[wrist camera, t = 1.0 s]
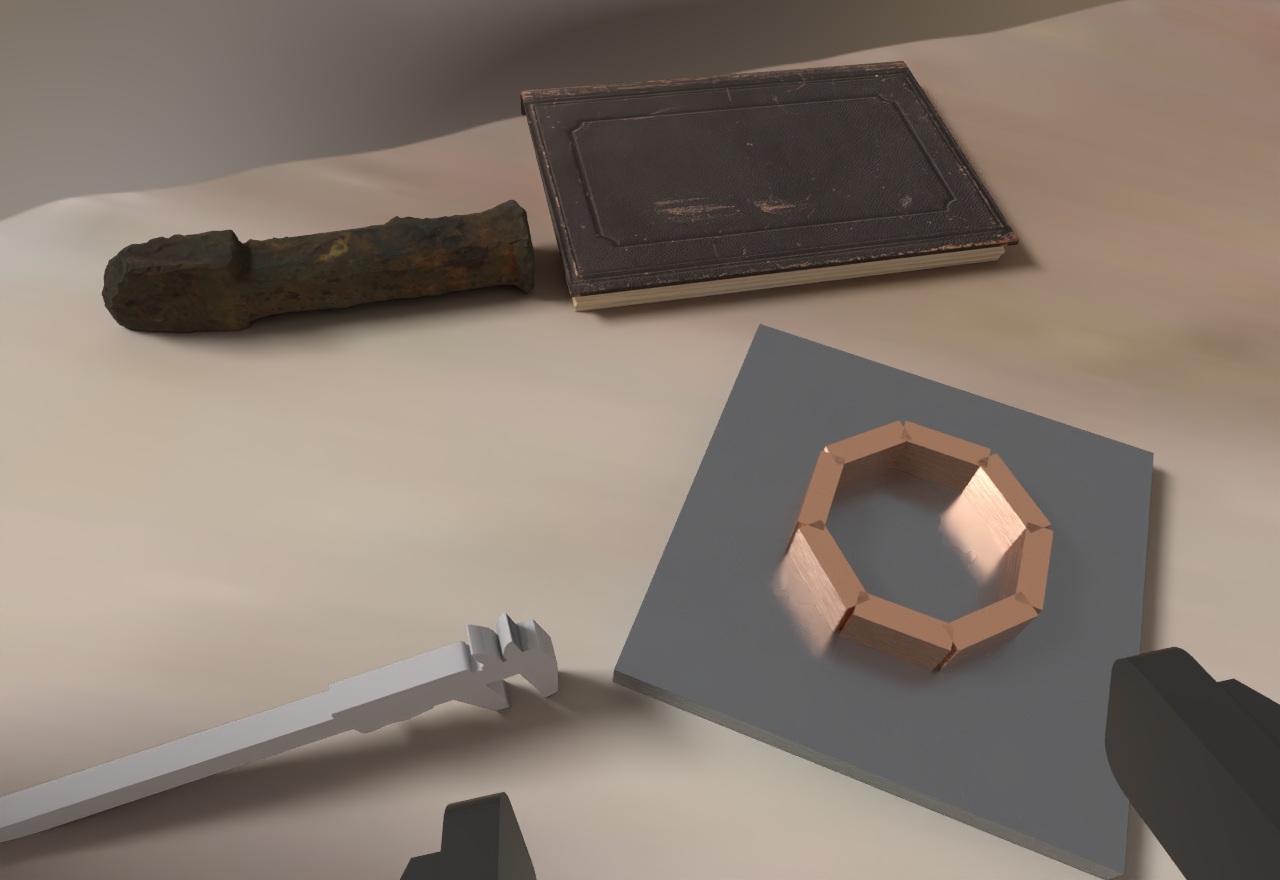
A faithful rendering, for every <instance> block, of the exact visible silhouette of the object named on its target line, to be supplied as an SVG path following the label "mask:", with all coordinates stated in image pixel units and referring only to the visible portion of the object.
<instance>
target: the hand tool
mask: <svg viewBox="0 0 1280 880" xmlns="http://www.w3.org/2000/svg"><path fill="white" fill-rule="evenodd" d="M533 260H534V253H533V246H532V241H531V236H530V230H529V225H528V221H527V213H526V211H525V209H523V208H522V207H520V206H519V205H518V203H517V202H516V201H515V200H509V201H507V202H505V203H502V204H500V205H498V206H496V207H494V208H493V209H489V210H486V211H484V212H481V213H474V214H468V215H454V216H450V217H447V216H444V217H440V218H432V219H430V218H425V219H419V218H412V217H405V218H399V217H398V216H396V217H394V218H393V219H391V220H390V221H389V222H387V223H386V224H384V225H374V226H369V227H364V228H357V229H349V230H342V231H334V232H327V233H318V234H313V235H304V236H297V237H289V238H288V237H284V238H279V239H278V238H273V239H268V240H263V241H259V240H252V239H250V240H249V241H247V242H246V243H241V242H240V241H239V240H238V238H237V236H236V235H235V233H234V232H233V231H232V230H224V231H210V232H205V233H201V234H194V235H186V236H183V235H173V236H172V237H170V238H164V237H159V238H155V239H151V240H149V241H148V242H147V243H142V244H131V245H129V246H127V247H125V248H124V249H122V250H121V251H120V252H119V253H118V255H116V256H115V257H113V258H112V259H111V260H109V262H108V265H107V268H106V269H105V274H104V288H103V291H102V296H103V299H104V302H105V306H106V308H107V309H108V310H109V312H110V314H111V315H112V316H113V318H114V319H115V320H116V321H117V323H118V324H120V325H121V326H124V327H125V328H126V327H127V328H131V329H134V330H145V331H165V332H178V333H179V332H194V331H239V330H243V329H246V328H250V327H251V326H252V324H253V323H254V321H255V320H256V319H259V318H263V317H267V316H270V315H276V314H282V313H288V312H301V311H313V310H321V309H333V308H341V309H343V308H347V307H350V306H354V305H358V304H363V303H369V302H375V301H383V300H392V299H400V298H416V297H421V296H427V295H440V294H444V293H448V292H451V291H464V290H469V289H475V288H482V287H488V286H493V285H508V284H512V285H515V286H517V287H518V288H520V289H521V290H522V291H523V292H524V293H527V294H528V293H530V292H531V290H532V289H533V287H534V283H533V275H534V267H533Z"/></svg>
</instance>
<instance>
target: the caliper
mask: <svg viewBox="0 0 1280 880" xmlns="http://www.w3.org/2000/svg"><path fill="white" fill-rule="evenodd" d="M466 631H467V636H468V641H469V644H467V645H466V644H465V642H463V641H461V642H457V643H453V644H450V645H447V646H444V647H441V648H438V649H435V650H432V651H429V652H426V653H423V654H420V655H417V656H414V657H411V658H408V659H405V660H402V661H399V662H396V663H393V664H390V665H387V666H384V667H381V668H378V669H375V670H372V671H369V672H366V673H363V674H360V675H357V676H354V677H351V678H348V679H345V680H342V681H339V682H336V683H332V684H329V685H328V686H329V690H328V691H325V692H322V693H319V694H315V695H312V696H309V697H306V698H303V699H300V700H297V701H294V702H291V703H288V704H285V705H282V706H279V707H275V708H272V709H269V710H266V711H263V712H260V713H257V714H254V715H251V716H248V717H245V718H242V719H239V720H236V721H232V722H229V723H226V724H223V725H220V726H217V727H214V728H211V729H208V730H205V731H202V732H199V733H196V734H192V735H189V736H186V737H183V738H180V739H177V740H174V741H171V742H168V743H165V744H162V745H159V746H156V747H152V748H149V749H146V750H143V751H140V752H137V753H134V754H131V755H128V756H125V757H122V758H119V759H116V760H113V761H109V762H106V763H103V764H100V765H97V766H94V767H91V768H88V769H85V770H82V771H79V772H76V773H73V774H70V775H67V776H64V777H60V778H57V779H54V780H51V781H48V782H45V783H42V784H39V785H36V786H33V787H30V788H27V789H24V790H21V791H18V792H15V793H12V794H9V795H6V796H2V797H0V843H1V842H5V841H9V840H13V839H16V838H20V837H24V836H28V835H31V834H35V833H38V832H41V831H44V830H47V829H50V828H53V827H56V826H59V825H62V824H65V823H69V822H72V821H75V820H78V819H81V818H84V817H87V816H90V815H93V814H96V813H99V812H102V811H105V810H108V809H111V808H114V807H117V806H120V805H123V804H126V803H129V802H132V801H135V800H138V799H141V798H144V797H147V796H150V795H153V794H156V793H159V792H162V791H165V790H168V789H171V788H174V787H177V786H180V785H183V784H186V783H189V782H192V781H195V780H198V779H201V778H205V777H208V776H211V775H214V774H217V773H220V772H223V771H226V770H229V769H232V768H235V767H238V766H241V765H244V764H247V763H250V762H253V761H256V760H259V759H263V758H266V757H269V756H272V755H275V754H278V753H281V752H284V751H287V750H290V749H293V748H296V747H299V746H302V745H305V744H308V743H311V742H314V741H317V740H321V739H324V738H327V737H330V736H333V735H336V734H339V733H342V732H345V731H348V730H351V729H355V730H357V731H359V732H361V733H368V732H372V731H374V730H377V729H379V728H381V727H384V726H386V725H388V724H391V723H395V722H399V721H404V720H407V719H410V718H412V717H415V716H417V715H419V714H421V713H423V712H425V711H427V710H430V709H432V708H433V706H435V705H438V704H441V703H445V702H448V701H451V700H457V701H461V702H464V703H468V704H472V705H476V706H480V707H484V708H487V709H491V710H495V711H497V710H501V709H505V708H509V707H510V702H509V698H508V693H507V689H506V684H505V681H504V680H503V679H505V678H508V677H511V676H513V675H516V674H521V675H522V676H523V677H524V678H525V679H526V680H527V681H529V682H530V683H531V684H532V685H533V686H534V687H535V688H537V689H538V690H539V691H540V692H541V693H542V694H543V695H544V696H545V697H548V696H550V695H553V694H554V693H556V692H557V691H558V668H557V661H556V657H555V653H554V649H553V645H552V641H551V637H550V636H549V635H548V634H547V633H546V632H545V631H544V630H543V629H542V628H541V627H540V626H539V625H538V624H537V623H536V622H535V621H534V620H533V619H531V620H528V621H525V622H521V623H518V624H515V623H514V622H513V621H512V620H511V618H510V617H509V616H508V615H507V614H506V613H504V614H502V615H501V616H500V618H499V619H498V623H497V631H498V634H496V633H495V632H494V631H493V630H491V629H489V628H485V627H481V626H475V625H467V626H466Z"/></svg>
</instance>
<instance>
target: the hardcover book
mask: <svg viewBox="0 0 1280 880" xmlns="http://www.w3.org/2000/svg"><path fill="white" fill-rule="evenodd" d="M521 113H522V116H526V117H527V121H528V125H529V129H530V133H531V137H532V141H533V145H534V149H535V153H536V158H537V162H538V166H539V170H540V174H541V178H542V182H543V186H544V190H545V194H546V198H547V203H548V207H549V211H550V215H551V219H552V223H553V227H554V231H555V235H556V239H557V244H558V248H559V252H560V256H561V260H562V264H563V268H564V272H565V276H566V280H567V284H568V289H569V293H570V297H571V298H572V302H573V306H574V310H575V312H579V311H587V310H595V309H603V308H611V307H619V306H628V305H636V304H644V303H652V302H660V301H668V300H676V299H684V298H693V297H701V296H709V295H717V294H725V293H733V292H741V291H750V290H758V289H766V288H774V287H782V286H790V285H798V284H806V283H815V282H823V281H831V280H839V279H847V278H855V277H863V276H871V275H880V274H888V273H896V272H904V271H912V270H920V269H928V268H936V267H945V266H953V265H961V264H969V263H977V262H985V261H993V260H999V257H1000V256H1001V255H1002V254H1004V253H1005V249H1004V246H1009V245H1017V243H1018V241H1019V240H1018V239H1017V237H1016V236H1015V234H1014V232H1013V231H1012V229H1011V228H1010V226H1009V225H1008V223H1007V221H1006V220H1005V218H1004V217H1003V215H1002V214H1001V212H1000V211H999V209H998V207H997V206H996V204H995V203H994V201H993V200H992V198H991V196H990V195H989V193H988V192H987V190H986V189H985V187H984V186H983V184H982V182H981V181H980V179H979V178H978V176H977V175H976V173H975V171H974V170H973V168H972V167H971V165H970V164H969V162H968V161H967V159H966V157H965V156H964V154H963V153H962V151H961V150H960V148H959V146H958V145H957V143H956V142H955V140H954V139H953V137H952V136H951V134H950V132H949V131H948V129H947V128H946V126H945V125H944V123H943V121H942V120H941V118H940V117H939V115H938V114H937V112H936V111H935V109H934V107H933V106H932V104H931V103H930V101H929V100H928V98H927V96H926V95H925V93H924V92H923V90H922V89H921V87H920V86H919V84H918V82H917V81H916V79H915V78H914V76H913V75H912V73H911V71H910V70H909V68H908V67H907V65H906V64H905V63H904V61H897V62H885V63H872V64H859V65H846V66H834V67H821V68H808V69H795V70H782V71H770V72H757V73H744V74H731V75H719V76H706V77H693V78H682V79H681V78H680V79H667V80H655V81H642V82H629V83H617V84H604V85H591V86H578V87H565V88H553V89H541V90H527V91H522V92H521Z"/></svg>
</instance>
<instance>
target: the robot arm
mask: <svg viewBox="0 0 1280 880" xmlns="http://www.w3.org/2000/svg"><path fill="white" fill-rule="evenodd" d="M1105 750H1106V755H1107V759H1108V762H1109V765H1110V768H1111V771H1112V773H1113V775H1114V777H1115V779H1116V781H1117V783H1118V785H1119V787H1120V788H1121V790H1122V791H1123V793H1124V794H1125V795H1126V797H1127V798H1128V800H1129V801H1130V802H1131V804H1132V805H1133V806H1134V808H1135V809H1136V811H1137V812H1138V813H1139V815H1140V816H1141V817H1142V819H1143V820H1144V822H1145V823H1146V824H1147V826H1148V827H1149V828H1150V830H1151V831H1152V833H1153V834H1154V835H1155V837H1156V838H1157V840H1158V841H1159V842H1160V844H1161V845H1162V846H1163V848H1164V849H1165V851H1166V852H1167V853H1168V855H1169V856H1170V857H1171V859H1172V860H1173V862H1174V863H1175V864H1176V866H1177V867H1178V868H1179V870H1180V871H1181V873H1182V874H1183V875H1184V877H1185V878H1186V879H1187V880H1280V705H1279V704H1278V703H1276V702H1274V701H1272V700H1271V699H1269V698H1267V697H1265V696H1264V695H1262V694H1260V693H1258V692H1257V691H1255V690H1253V689H1251V688H1249V687H1248V686H1246V685H1244V684H1242V683H1241V682H1239V681H1237V680H1235V679H1230V680H1225V681H1221V682H1216V681H1215V680H1214V679H1213V678H1212V677H1211V676H1210V675H1209V674H1208V673H1207V672H1206V671H1205V670H1204V669H1203V667H1202V666H1201V665H1200V664H1199V663H1198V662H1197V661H1196V660H1195V659H1194V658H1193V657H1192V656H1191V655H1190V654H1189V653H1187V652H1186V651H1184V650H1183V649H1181V648H1178V647H1171V648H1166V649H1162V650H1157V651H1152V652H1148V653H1143V654H1139V655H1134V656H1130V657H1125V658H1121V659H1118V660H1116V661H1115V662H1114V664H1113V666H1112V671H1111V681H1110V691H1109V701H1108V711H1107V721H1106V730H1105ZM400 880H536V875H535V871H534V867H533V864H532V861H531V858H530V856H529V853H528V850H527V847H526V844H525V842H524V839H523V836H522V833H521V831H520V828H519V825H518V822H517V819H516V817H515V814H514V811H513V808H512V806H511V803H510V800H509V798H508V796H507V794H506V793H505V792H502V793H497V794H492V795H488V796H483V797H479V798H474V799H470V800H465V801H461V802H456V803H452V804H448V805H447V807H446V809H445V813H444V821H443V832H442V844H441V852H436V853H432V854H427V855H423V856H418V857H414V858H411V860H410V861H409V863H408V865H407V867H406V869H405V871H404V873H403V875H402V877H401V879H400Z"/></svg>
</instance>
